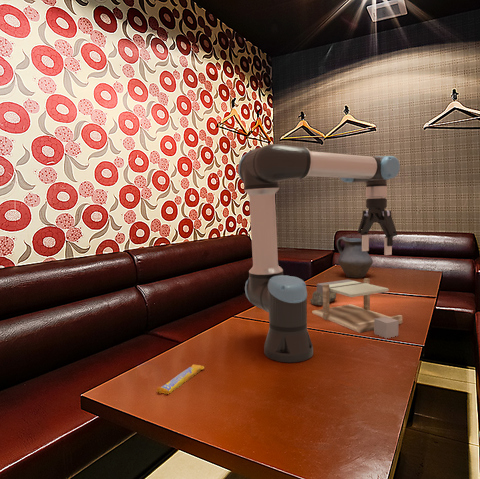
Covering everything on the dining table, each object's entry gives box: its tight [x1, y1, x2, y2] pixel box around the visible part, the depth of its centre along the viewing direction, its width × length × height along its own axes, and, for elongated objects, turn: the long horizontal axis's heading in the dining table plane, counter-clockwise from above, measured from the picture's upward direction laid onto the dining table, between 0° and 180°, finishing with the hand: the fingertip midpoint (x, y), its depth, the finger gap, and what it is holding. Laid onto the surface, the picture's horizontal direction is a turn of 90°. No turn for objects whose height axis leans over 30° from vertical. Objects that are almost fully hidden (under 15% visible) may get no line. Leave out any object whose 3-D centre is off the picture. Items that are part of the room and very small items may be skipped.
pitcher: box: [336, 236, 374, 279], centre depth 231 cm, size 21×22×25 cm
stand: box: [311, 278, 403, 334], centre depth 148 cm, size 23×28×14 cm
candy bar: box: [156, 363, 205, 395], centre depth 99 cm, size 17×4×2 cm, turn 152°
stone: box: [373, 316, 399, 340], centre depth 129 cm, size 6×6×6 cm
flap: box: [316, 278, 390, 298], centre depth 150 cm, size 19×22×4 cm
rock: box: [309, 290, 338, 306], centre depth 173 cm, size 17×7×10 cm
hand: (376, 252), depth 144 cm, fingers open, 13 cm apart
